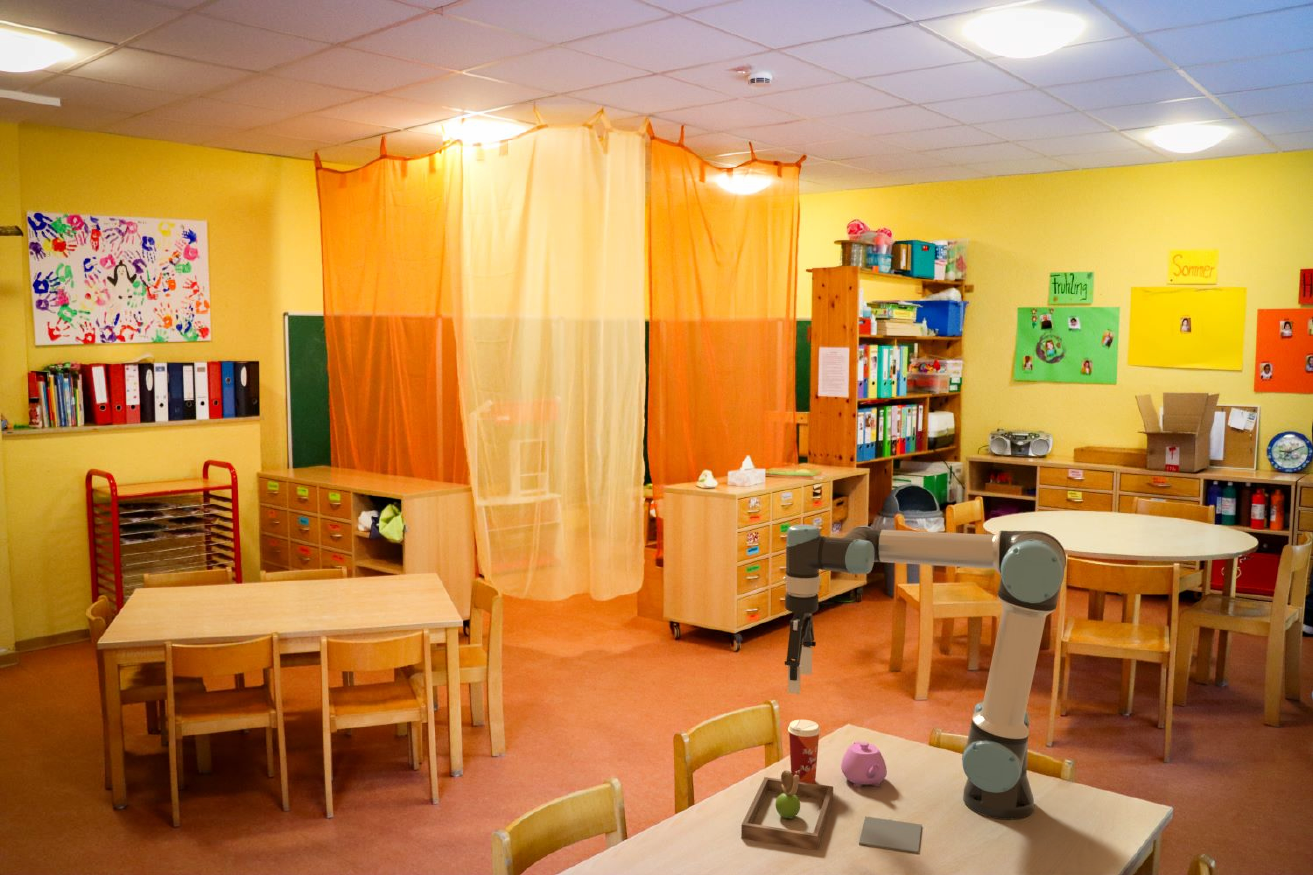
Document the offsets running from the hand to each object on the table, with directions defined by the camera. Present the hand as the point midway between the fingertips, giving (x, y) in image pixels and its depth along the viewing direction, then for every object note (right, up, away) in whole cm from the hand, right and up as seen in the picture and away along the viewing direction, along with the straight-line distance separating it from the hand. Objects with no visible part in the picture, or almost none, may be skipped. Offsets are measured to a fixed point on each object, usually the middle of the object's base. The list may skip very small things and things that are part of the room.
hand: (800, 683), depth 230 cm
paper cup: (+2, -26, +8) cm, 27 cm away
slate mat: (+17, -28, -17) cm, 37 cm away
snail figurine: (-4, -28, -10) cm, 29 cm away
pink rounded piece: (+17, -26, +8) cm, 32 cm away
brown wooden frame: (-4, -27, -10) cm, 29 cm away
